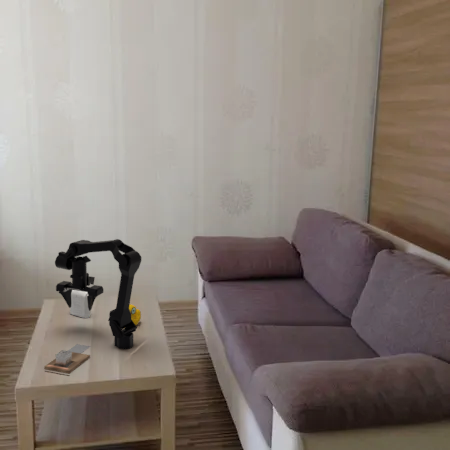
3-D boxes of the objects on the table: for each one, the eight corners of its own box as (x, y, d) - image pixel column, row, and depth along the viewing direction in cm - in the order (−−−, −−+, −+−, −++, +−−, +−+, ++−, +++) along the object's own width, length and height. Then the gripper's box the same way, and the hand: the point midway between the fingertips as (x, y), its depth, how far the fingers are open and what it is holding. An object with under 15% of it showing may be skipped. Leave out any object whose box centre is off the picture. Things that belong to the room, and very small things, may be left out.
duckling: (127, 331, 241) (127, 309, 239) (117, 329, 244) (117, 306, 242) (144, 323, 251) (144, 301, 249) (134, 321, 254) (134, 299, 252)
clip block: (72, 367, 208) (71, 351, 206) (65, 372, 204) (65, 356, 203) (62, 365, 209) (62, 350, 208) (56, 370, 205) (55, 354, 204)
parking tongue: (90, 348, 224) (90, 346, 223) (79, 356, 216) (79, 354, 216) (77, 346, 225) (77, 344, 225) (65, 354, 218) (65, 351, 218)
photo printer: (92, 316, 258) (91, 290, 255) (85, 319, 254) (85, 292, 252) (75, 311, 263) (74, 285, 260) (68, 314, 259) (67, 288, 256)
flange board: (90, 360, 214) (89, 354, 213) (69, 376, 201) (69, 370, 200) (66, 355, 217) (66, 350, 216) (44, 371, 204) (44, 365, 203)
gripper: (110, 269, 234) (110, 305, 237) (70, 264, 240) (70, 299, 243) (96, 276, 224) (96, 314, 227) (54, 271, 229) (55, 308, 232)
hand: (80, 308), depth 232 cm, fingers open, 9 cm apart
